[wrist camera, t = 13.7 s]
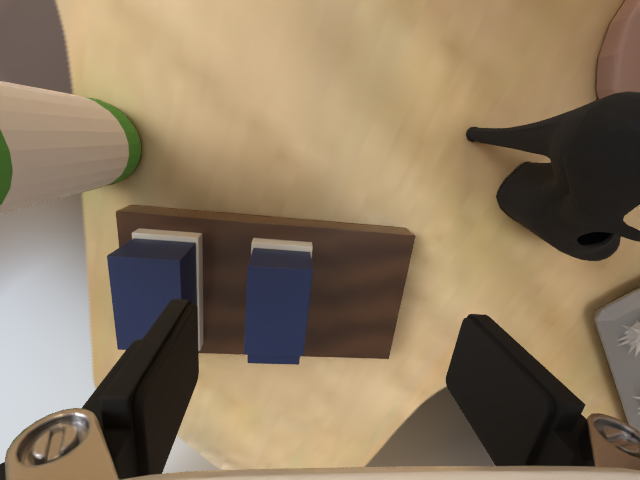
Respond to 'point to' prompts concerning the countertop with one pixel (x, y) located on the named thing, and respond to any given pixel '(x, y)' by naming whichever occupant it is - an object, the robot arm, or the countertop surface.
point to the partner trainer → (154, 280)
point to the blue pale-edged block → (277, 300)
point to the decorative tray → (623, 349)
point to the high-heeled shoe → (575, 175)
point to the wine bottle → (60, 145)
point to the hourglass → (620, 53)
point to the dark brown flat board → (327, 281)
